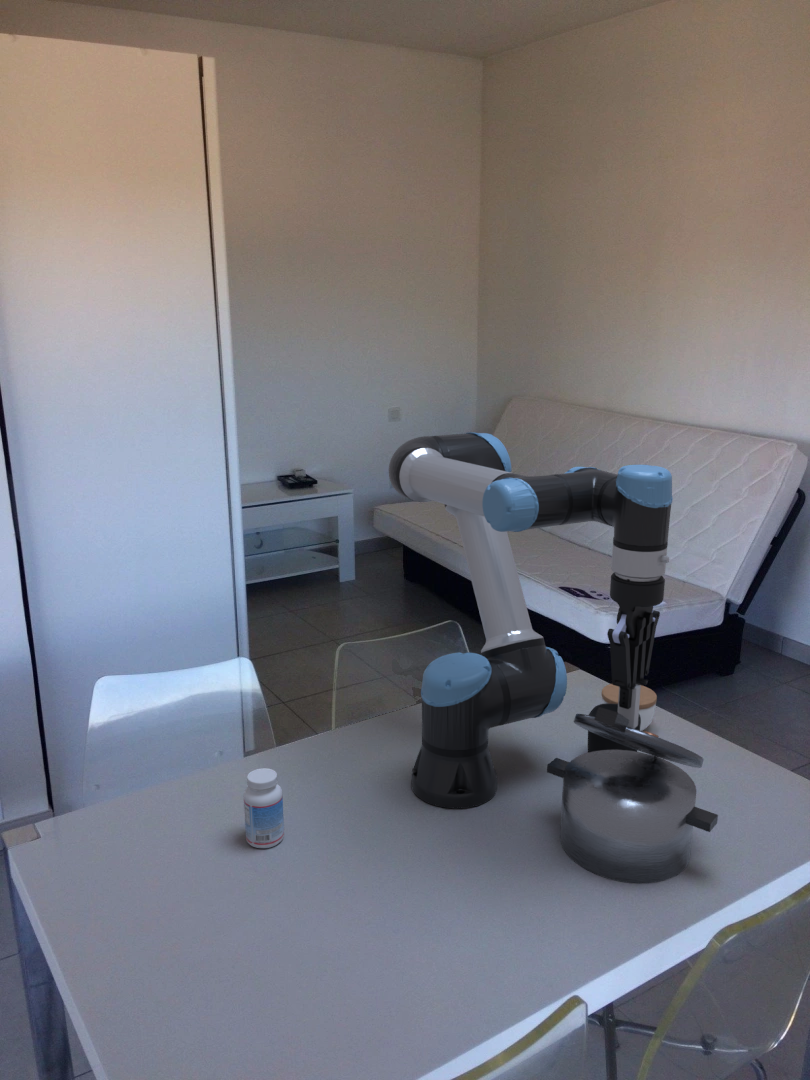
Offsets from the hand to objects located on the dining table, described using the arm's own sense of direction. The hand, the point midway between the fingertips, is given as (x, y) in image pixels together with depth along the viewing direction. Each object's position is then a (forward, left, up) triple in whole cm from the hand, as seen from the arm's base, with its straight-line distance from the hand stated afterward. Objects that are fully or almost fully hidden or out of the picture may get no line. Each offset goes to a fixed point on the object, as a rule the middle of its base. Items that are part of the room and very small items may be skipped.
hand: (627, 724), depth 132 cm
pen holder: (-13, +24, -22) cm, 35 cm away
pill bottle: (-45, -33, -22) cm, 60 cm away
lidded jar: (-17, +39, -22) cm, 48 cm away
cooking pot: (0, +2, -22) cm, 22 cm away
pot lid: (0, +2, -4) cm, 4 cm away
